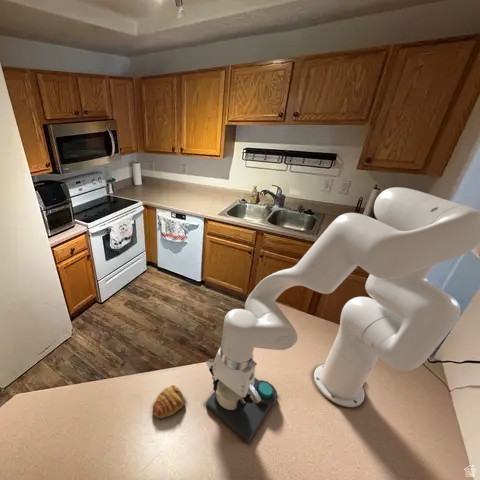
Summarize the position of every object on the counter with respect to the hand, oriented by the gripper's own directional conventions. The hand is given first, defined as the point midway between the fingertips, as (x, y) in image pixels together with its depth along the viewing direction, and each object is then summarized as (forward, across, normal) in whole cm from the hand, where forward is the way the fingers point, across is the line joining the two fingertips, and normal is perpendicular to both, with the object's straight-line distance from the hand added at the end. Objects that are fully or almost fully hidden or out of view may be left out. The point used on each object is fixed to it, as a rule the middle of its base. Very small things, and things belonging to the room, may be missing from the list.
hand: (228, 396), depth 72 cm
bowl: (+1, 0, 0) cm, 1 cm away
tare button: (0, -7, -8) cm, 10 cm away
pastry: (+4, +11, +12) cm, 17 cm away
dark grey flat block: (+3, -3, -3) cm, 5 cm away
